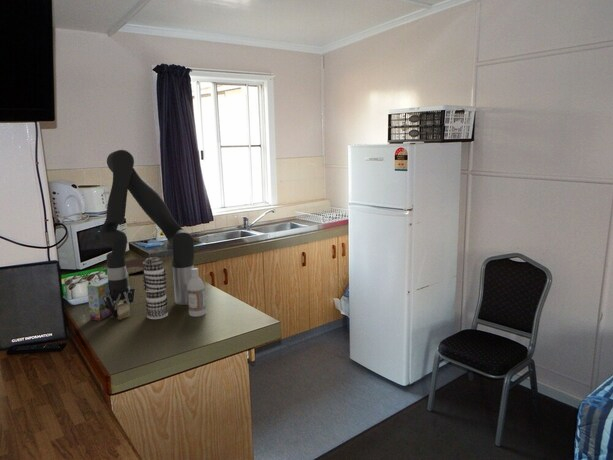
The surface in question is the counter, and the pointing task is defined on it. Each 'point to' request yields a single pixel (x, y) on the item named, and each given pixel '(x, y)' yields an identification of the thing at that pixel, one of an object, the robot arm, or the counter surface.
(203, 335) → the counter surface
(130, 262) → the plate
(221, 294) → the counter surface
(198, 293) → the bath foam
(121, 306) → the maple block
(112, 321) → the counter surface
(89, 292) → the snack box
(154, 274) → the decorative candle
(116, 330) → the counter surface
